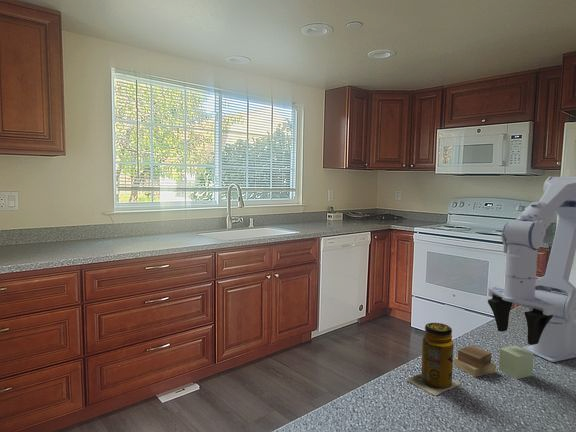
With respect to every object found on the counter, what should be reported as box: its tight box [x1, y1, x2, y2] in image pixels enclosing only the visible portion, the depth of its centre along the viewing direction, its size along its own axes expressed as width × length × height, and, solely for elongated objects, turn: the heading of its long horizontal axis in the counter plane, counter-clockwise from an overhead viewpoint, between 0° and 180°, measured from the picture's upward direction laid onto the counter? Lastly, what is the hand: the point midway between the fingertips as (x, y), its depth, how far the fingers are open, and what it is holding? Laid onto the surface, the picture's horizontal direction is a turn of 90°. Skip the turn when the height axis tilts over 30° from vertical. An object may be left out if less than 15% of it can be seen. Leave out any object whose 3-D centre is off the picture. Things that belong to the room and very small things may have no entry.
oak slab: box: [453, 356, 497, 378], centre depth 88 cm, size 6×6×2 cm
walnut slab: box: [457, 344, 492, 368], centre depth 88 cm, size 5×5×2 cm
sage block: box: [498, 345, 534, 380], centre depth 86 cm, size 4×4×5 cm
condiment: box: [405, 322, 462, 397], centre depth 81 cm, size 7×8×12 cm
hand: (517, 337), depth 85 cm, fingers open, 7 cm apart
